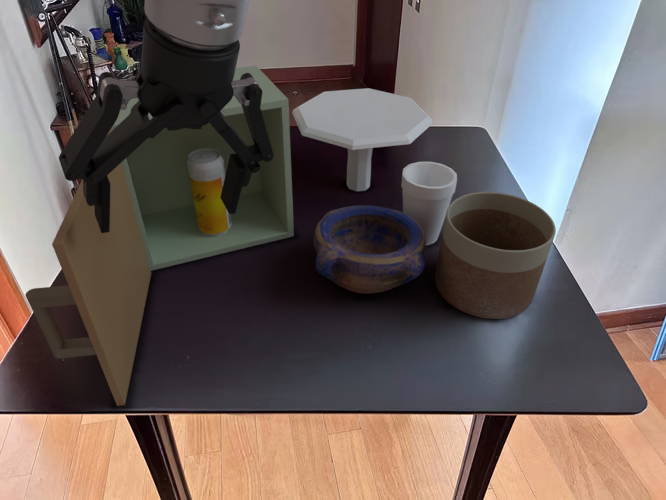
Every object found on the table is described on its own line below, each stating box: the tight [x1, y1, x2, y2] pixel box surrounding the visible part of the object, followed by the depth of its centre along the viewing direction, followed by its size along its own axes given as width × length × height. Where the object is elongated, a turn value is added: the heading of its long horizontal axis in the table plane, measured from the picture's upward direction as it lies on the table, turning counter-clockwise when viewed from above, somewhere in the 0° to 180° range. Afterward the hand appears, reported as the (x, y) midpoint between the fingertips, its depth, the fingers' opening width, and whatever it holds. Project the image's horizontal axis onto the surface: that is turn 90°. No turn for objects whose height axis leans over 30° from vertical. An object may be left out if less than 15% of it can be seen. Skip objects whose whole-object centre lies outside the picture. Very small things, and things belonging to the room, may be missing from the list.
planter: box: [434, 191, 557, 320], centre depth 81 cm, size 16×16×14 cm
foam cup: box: [400, 161, 458, 246], centre depth 93 cm, size 10×9×13 cm
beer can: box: [187, 148, 232, 236], centre depth 91 cm, size 6×6×15 cm
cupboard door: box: [25, 129, 152, 407], centre depth 68 cm, size 7×26×26 cm, turn 8°
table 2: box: [291, 87, 434, 192], centre depth 106 cm, size 28×28×17 cm
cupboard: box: [111, 65, 295, 272], centre depth 90 cm, size 17×26×26 cm, turn 114°
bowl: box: [312, 204, 426, 295], centre depth 84 cm, size 18×18×10 cm
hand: (168, 213), depth 56 cm, fingers open, 13 cm apart
